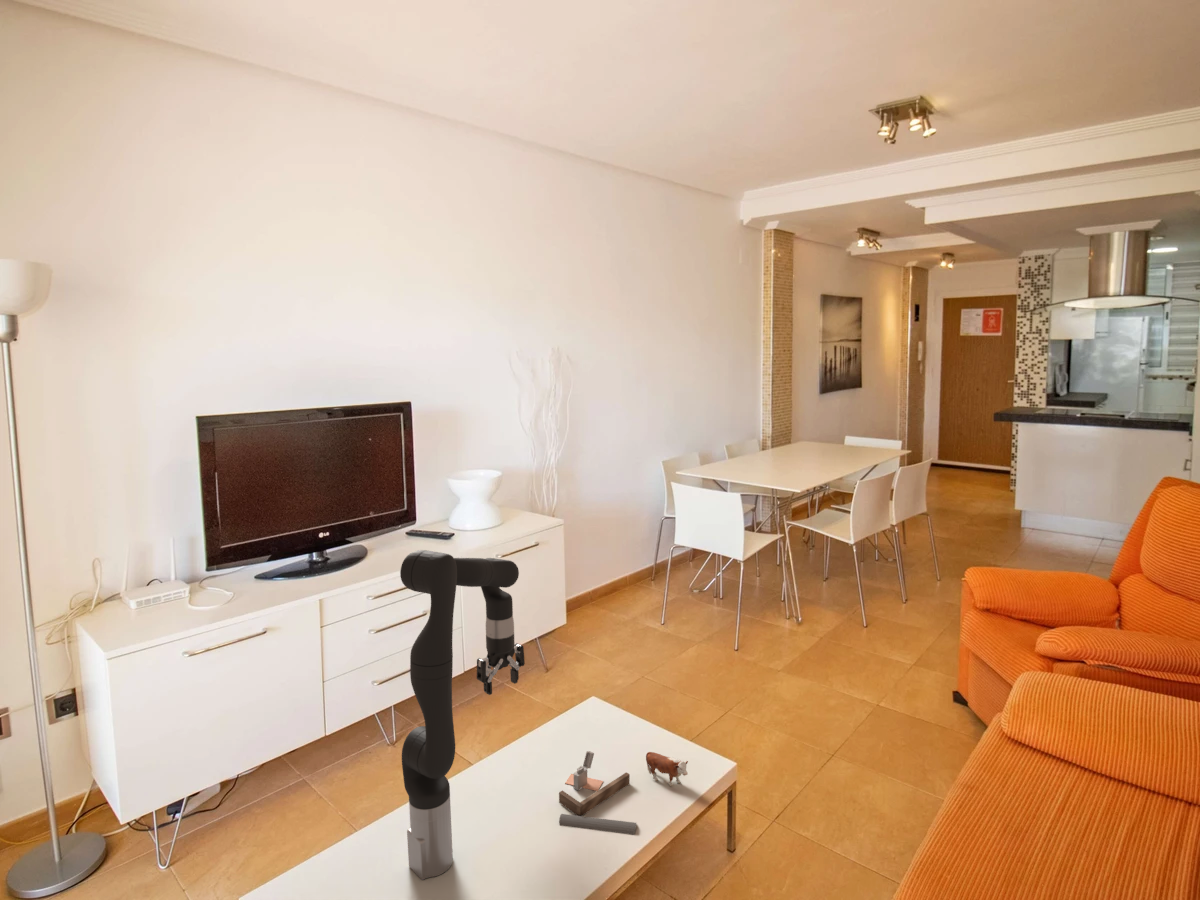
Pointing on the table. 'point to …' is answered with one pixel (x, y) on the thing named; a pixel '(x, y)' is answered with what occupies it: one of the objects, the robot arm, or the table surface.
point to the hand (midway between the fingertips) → (501, 687)
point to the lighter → (583, 771)
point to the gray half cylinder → (597, 824)
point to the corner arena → (594, 796)
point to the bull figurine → (665, 766)
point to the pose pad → (591, 783)
